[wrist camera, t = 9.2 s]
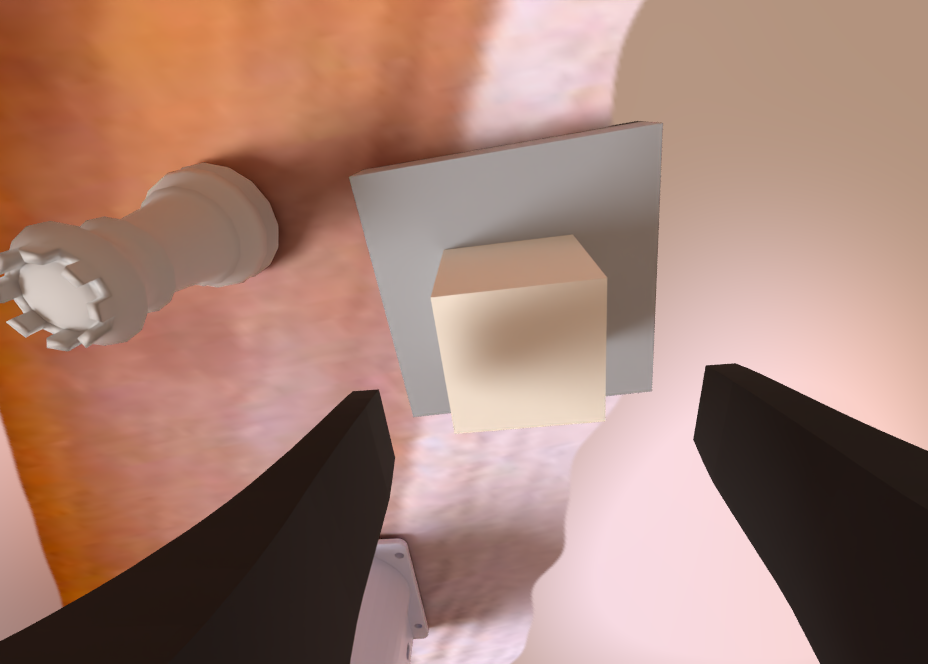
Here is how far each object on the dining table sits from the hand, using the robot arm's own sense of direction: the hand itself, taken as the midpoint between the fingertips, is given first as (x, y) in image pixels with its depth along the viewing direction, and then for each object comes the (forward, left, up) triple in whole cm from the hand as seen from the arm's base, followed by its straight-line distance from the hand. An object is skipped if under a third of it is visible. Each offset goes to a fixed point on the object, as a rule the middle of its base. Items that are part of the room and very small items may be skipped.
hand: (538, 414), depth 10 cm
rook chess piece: (+3, +11, -9) cm, 15 cm away
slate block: (0, 0, -9) cm, 9 cm away
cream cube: (0, 0, -7) cm, 7 cm away
